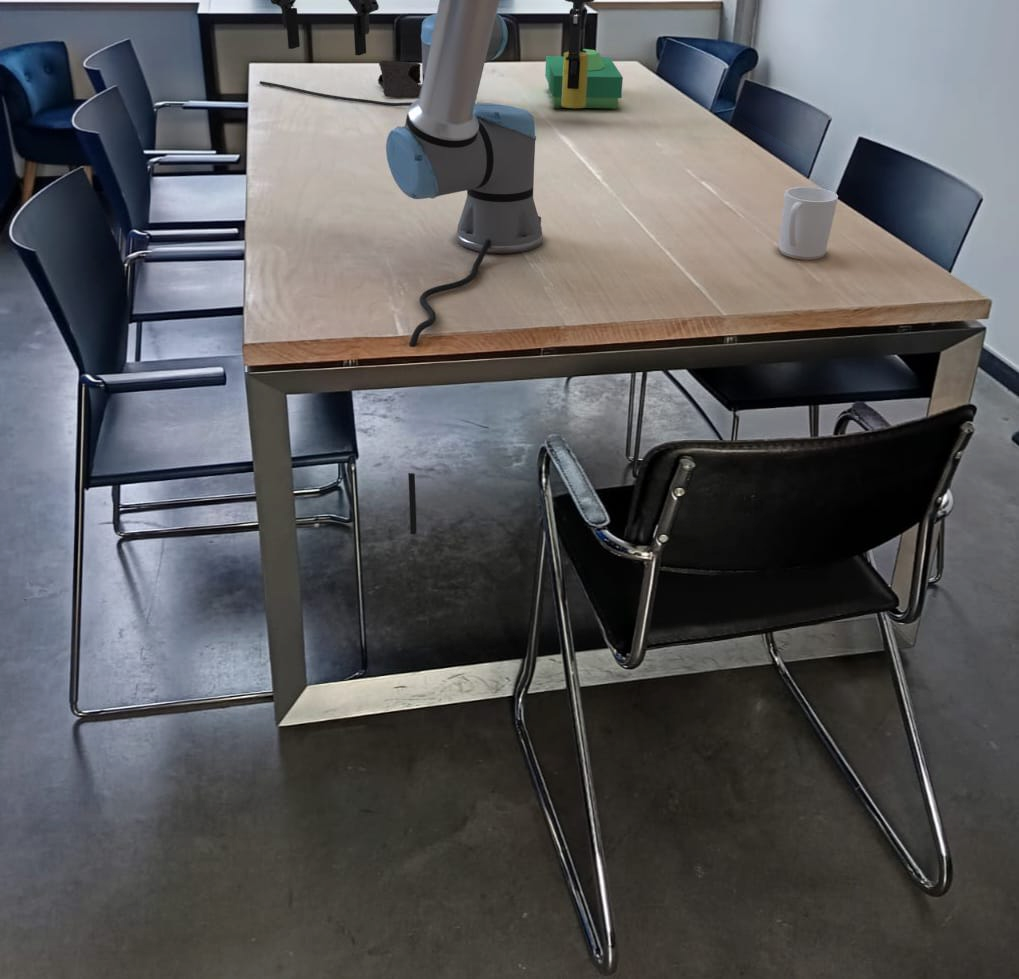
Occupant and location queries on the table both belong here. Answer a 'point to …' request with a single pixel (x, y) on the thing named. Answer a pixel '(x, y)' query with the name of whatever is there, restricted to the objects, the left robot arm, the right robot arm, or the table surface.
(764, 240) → the table surface
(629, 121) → the table surface
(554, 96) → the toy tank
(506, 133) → the right robot arm
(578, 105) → the canister
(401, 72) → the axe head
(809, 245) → the mug
